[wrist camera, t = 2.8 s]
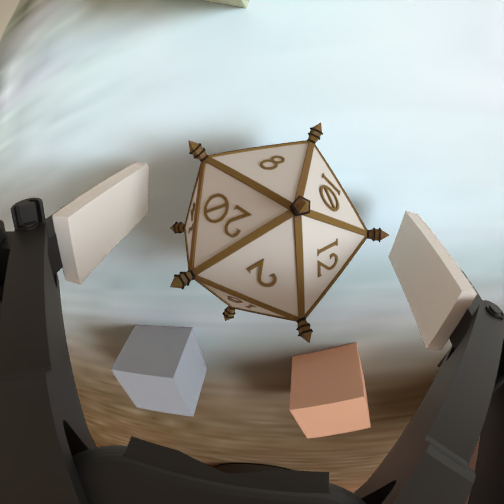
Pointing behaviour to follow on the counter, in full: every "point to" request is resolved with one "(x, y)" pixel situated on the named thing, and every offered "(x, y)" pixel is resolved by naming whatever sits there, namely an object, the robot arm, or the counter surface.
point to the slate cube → (161, 369)
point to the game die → (270, 229)
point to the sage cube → (232, 2)
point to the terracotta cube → (329, 392)
